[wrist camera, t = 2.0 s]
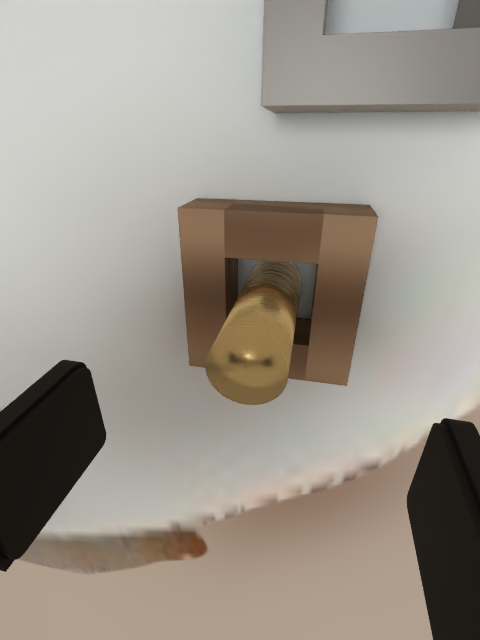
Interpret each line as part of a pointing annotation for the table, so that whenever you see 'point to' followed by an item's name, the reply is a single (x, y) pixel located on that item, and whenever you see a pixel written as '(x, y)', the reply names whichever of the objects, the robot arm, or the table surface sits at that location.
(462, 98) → the charcoal dock
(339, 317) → the walnut mount
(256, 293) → the brass pin
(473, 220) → the table surface
